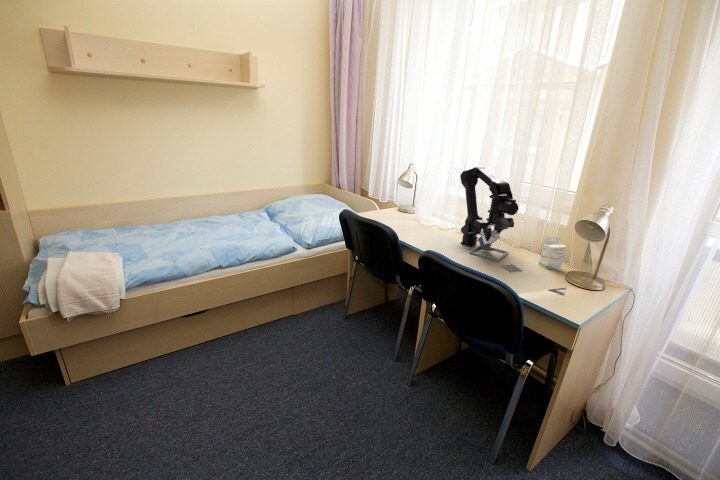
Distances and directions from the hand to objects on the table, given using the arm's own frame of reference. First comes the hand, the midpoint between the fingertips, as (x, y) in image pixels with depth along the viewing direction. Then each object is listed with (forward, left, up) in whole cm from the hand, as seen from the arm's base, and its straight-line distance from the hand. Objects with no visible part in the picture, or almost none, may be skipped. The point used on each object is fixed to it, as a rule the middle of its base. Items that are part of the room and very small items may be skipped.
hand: (490, 240), depth 162 cm
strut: (-4, +3, -3) cm, 6 cm away
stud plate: (+14, -10, -8) cm, 19 cm away
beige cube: (-11, +23, -9) cm, 27 cm away
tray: (0, 0, -8) cm, 8 cm away
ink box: (+26, +6, -8) cm, 28 cm away
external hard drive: (+32, -11, -9) cm, 35 cm away
